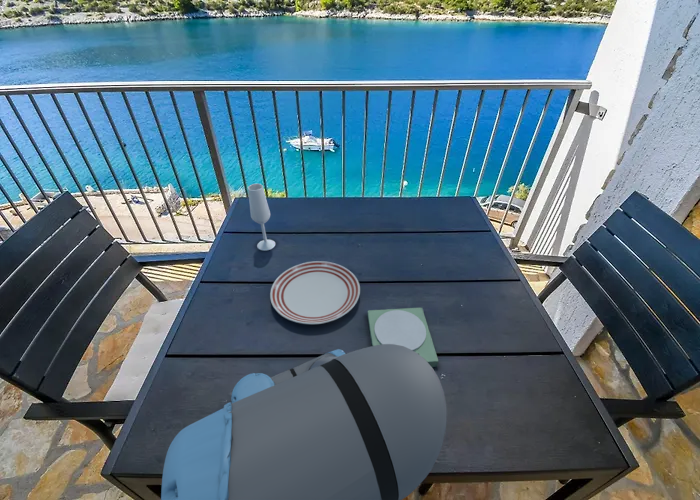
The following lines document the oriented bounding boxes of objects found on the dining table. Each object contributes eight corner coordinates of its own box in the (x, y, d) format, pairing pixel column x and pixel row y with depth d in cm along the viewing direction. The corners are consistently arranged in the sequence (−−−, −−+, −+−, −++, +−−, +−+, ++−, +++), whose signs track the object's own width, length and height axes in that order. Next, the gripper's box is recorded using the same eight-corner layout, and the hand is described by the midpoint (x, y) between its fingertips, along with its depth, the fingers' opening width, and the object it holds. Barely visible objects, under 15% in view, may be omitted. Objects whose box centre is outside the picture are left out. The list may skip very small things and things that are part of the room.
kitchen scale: (437, 366, 89) (438, 359, 87) (375, 370, 88) (375, 363, 86) (420, 313, 103) (422, 306, 101) (367, 316, 102) (367, 309, 100)
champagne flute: (278, 240, 131) (269, 183, 116) (271, 251, 126) (260, 193, 111) (261, 238, 132) (250, 181, 117) (253, 249, 127) (241, 190, 112)
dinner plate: (265, 276, 115) (264, 269, 113) (344, 260, 122) (344, 252, 120) (279, 342, 95) (277, 334, 93) (372, 318, 102) (373, 310, 100)
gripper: (310, 383, 81) (404, 368, 84) (321, 493, 64) (437, 468, 67) (308, 364, 76) (407, 349, 79) (319, 477, 59) (444, 452, 62)
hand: (421, 404), depth 73 cm, fingers closed on potion bottle, 9 cm apart
